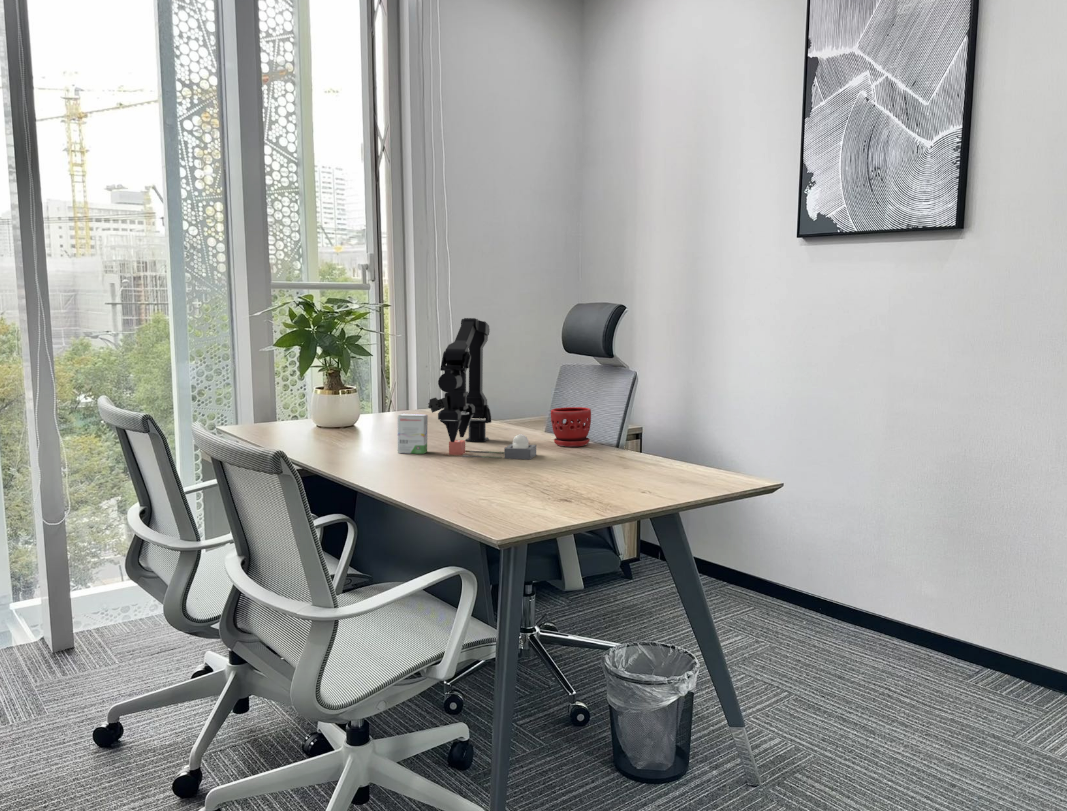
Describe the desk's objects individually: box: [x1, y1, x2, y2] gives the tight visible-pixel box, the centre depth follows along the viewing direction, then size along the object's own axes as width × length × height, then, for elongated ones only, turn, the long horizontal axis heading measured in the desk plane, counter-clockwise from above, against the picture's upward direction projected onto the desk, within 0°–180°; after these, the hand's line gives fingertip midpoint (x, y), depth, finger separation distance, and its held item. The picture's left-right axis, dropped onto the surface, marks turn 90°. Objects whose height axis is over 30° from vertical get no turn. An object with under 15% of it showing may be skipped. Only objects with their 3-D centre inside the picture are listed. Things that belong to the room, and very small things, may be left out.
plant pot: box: [550, 406, 592, 448], centre depth 281 cm, size 13×13×12 cm
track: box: [443, 449, 504, 459], centre depth 263 cm, size 9×18×1 cm, turn 77°
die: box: [448, 438, 466, 455], centre depth 264 cm, size 4×4×4 cm
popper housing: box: [503, 443, 537, 460], centre depth 260 cm, size 8×8×3 cm
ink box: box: [397, 413, 429, 455], centre depth 266 cm, size 9×5×12 cm, turn 84°
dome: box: [512, 433, 530, 449], centre depth 260 cm, size 5×5×6 cm
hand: (457, 439), depth 264 cm, fingers open, 9 cm apart
